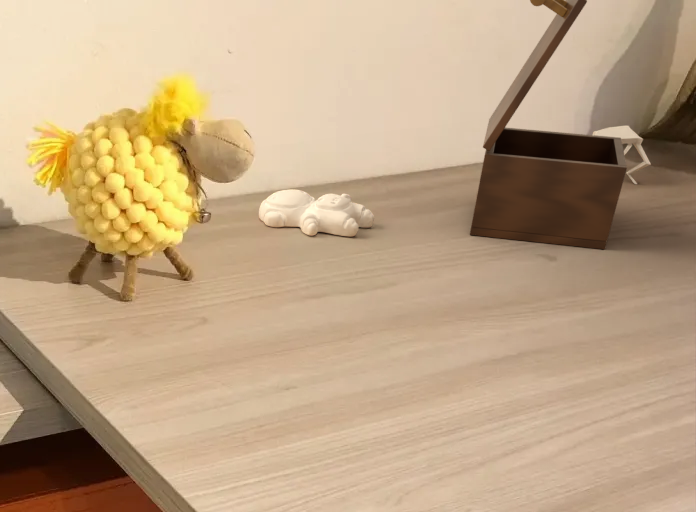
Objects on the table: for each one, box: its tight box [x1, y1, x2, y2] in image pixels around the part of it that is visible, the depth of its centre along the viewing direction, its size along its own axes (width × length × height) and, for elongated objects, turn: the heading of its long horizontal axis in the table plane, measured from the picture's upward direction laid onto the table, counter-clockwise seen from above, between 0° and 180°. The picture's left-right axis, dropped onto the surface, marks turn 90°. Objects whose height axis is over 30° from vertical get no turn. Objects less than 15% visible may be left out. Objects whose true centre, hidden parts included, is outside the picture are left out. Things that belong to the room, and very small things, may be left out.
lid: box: [482, 0, 588, 151], centre depth 102 cm, size 14×13×5 cm
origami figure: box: [592, 125, 652, 185], centre depth 126 cm, size 12×8×5 cm
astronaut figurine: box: [258, 188, 375, 238], centre depth 109 cm, size 9×12×3 cm
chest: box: [469, 127, 628, 250], centre depth 109 cm, size 14×13×8 cm
